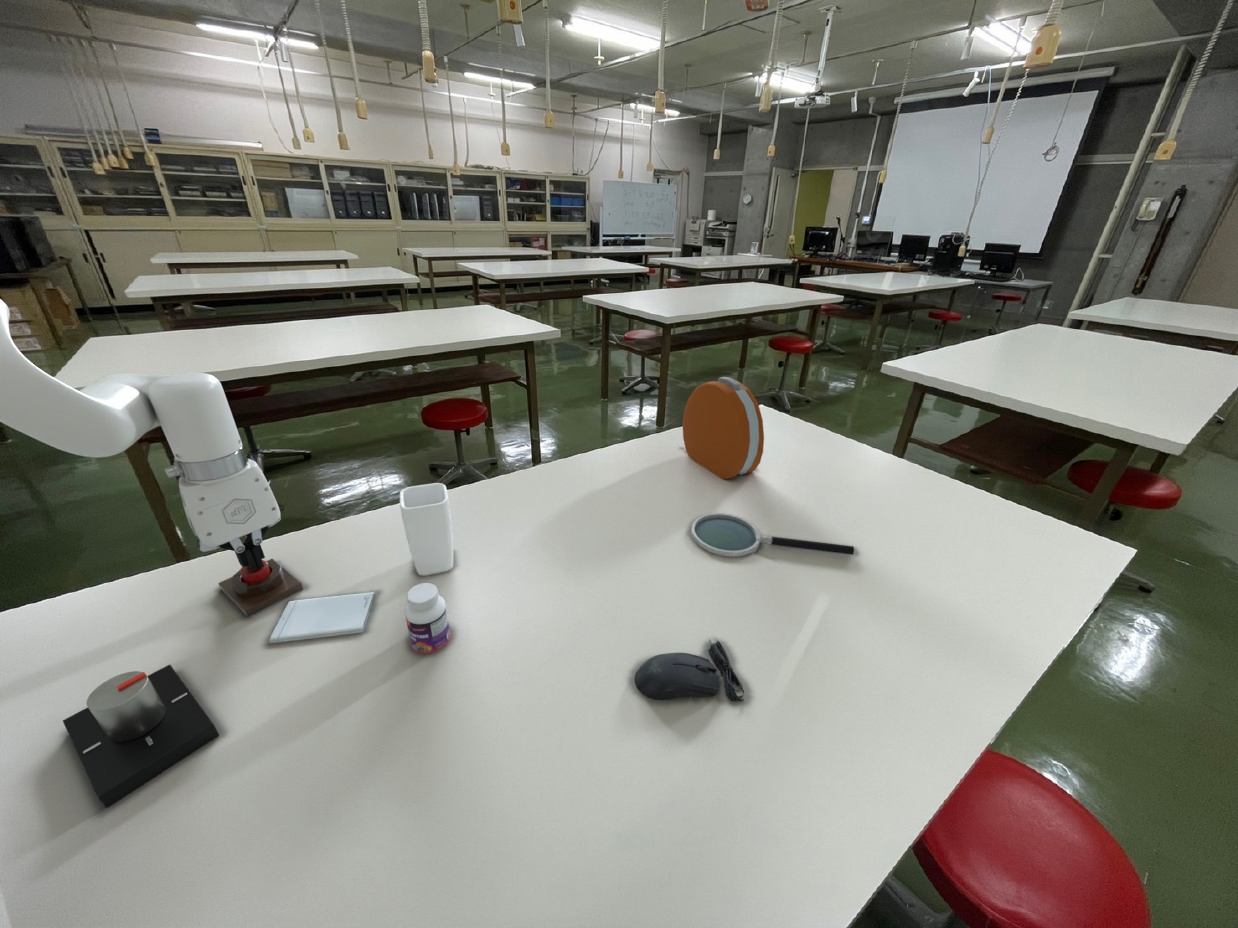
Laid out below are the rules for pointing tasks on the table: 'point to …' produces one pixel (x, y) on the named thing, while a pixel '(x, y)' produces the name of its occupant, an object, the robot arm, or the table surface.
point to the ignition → (260, 589)
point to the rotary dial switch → (141, 741)
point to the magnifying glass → (745, 537)
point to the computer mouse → (687, 675)
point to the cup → (428, 527)
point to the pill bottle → (426, 618)
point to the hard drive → (323, 617)
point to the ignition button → (255, 573)
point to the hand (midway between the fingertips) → (254, 565)
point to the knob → (126, 706)
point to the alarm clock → (724, 428)
